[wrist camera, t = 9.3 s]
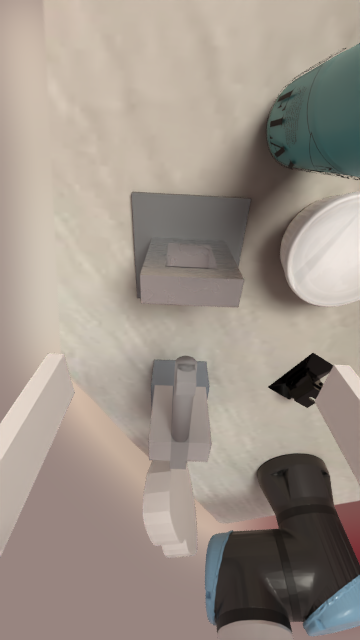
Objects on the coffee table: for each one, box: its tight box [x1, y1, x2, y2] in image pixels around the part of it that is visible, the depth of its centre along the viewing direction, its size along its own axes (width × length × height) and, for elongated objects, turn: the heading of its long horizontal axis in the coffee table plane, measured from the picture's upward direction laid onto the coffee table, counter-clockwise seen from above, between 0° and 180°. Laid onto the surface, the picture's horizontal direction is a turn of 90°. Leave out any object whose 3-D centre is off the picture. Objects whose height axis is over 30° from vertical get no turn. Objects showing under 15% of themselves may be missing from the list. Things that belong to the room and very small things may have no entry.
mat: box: [132, 192, 251, 298], centre depth 29 cm, size 12×12×1 cm
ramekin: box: [280, 191, 360, 307], centre depth 26 cm, size 11×11×5 cm
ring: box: [140, 237, 244, 307], centre depth 24 cm, size 2×8×10 cm, turn 87°
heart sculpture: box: [142, 460, 197, 558], centre depth 41 cm, size 16×5×18 cm, turn 15°
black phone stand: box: [268, 353, 333, 408], centre depth 39 cm, size 12×7×5 cm, turn 145°
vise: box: [148, 356, 212, 469], centre depth 32 cm, size 21×8×14 cm, turn 177°
